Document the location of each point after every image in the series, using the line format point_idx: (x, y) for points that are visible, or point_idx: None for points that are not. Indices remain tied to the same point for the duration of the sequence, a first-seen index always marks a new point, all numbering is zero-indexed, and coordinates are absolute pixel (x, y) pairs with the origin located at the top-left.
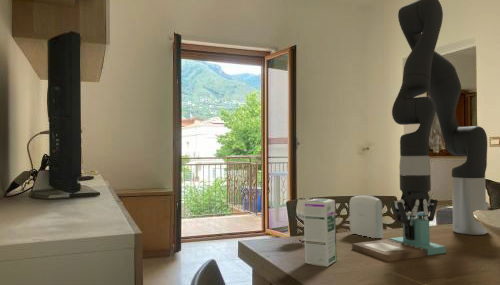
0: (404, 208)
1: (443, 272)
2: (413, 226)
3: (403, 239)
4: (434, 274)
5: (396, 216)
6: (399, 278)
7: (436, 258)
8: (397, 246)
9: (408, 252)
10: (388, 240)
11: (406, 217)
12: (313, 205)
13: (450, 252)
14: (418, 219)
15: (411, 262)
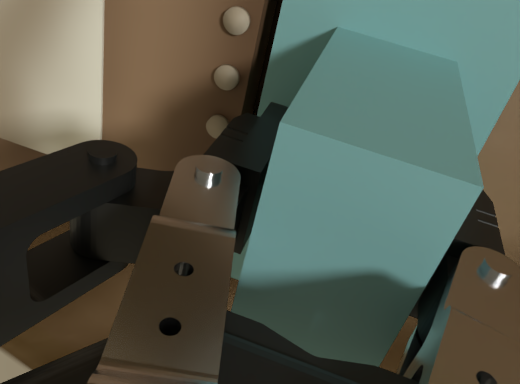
0: (126, 304)
1: (76, 344)
2: (234, 250)
3: (336, 32)
4: (30, 328)
5: (12, 171)
6: None
7: (236, 284)
8: (125, 98)
9: None
10: None
11: (75, 291)
12: None
13: None
14: (323, 324)
15: (67, 224)
